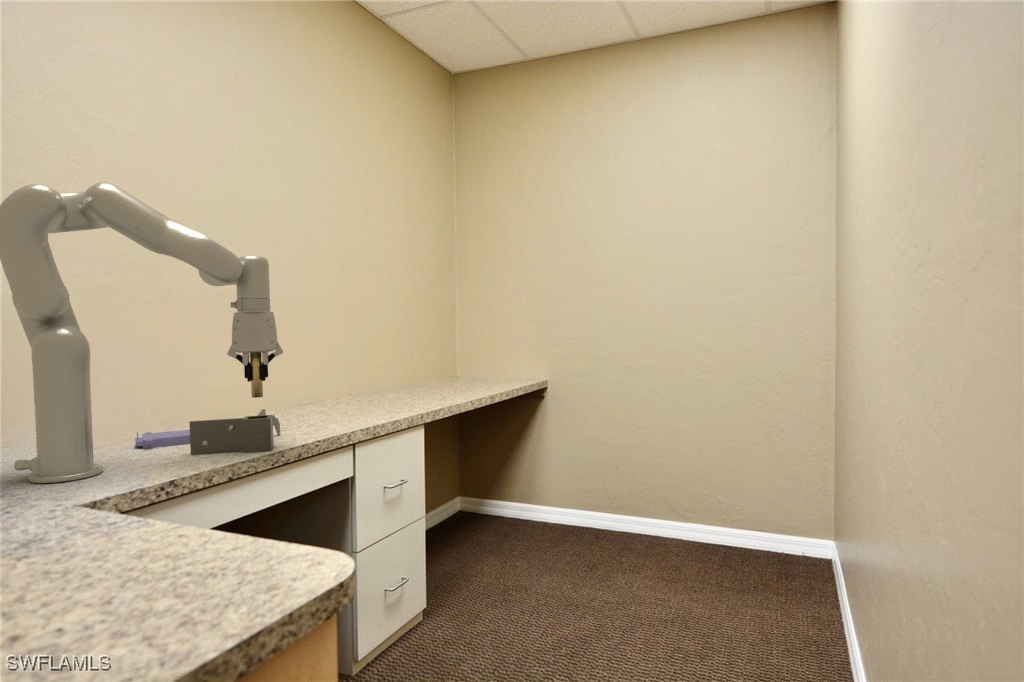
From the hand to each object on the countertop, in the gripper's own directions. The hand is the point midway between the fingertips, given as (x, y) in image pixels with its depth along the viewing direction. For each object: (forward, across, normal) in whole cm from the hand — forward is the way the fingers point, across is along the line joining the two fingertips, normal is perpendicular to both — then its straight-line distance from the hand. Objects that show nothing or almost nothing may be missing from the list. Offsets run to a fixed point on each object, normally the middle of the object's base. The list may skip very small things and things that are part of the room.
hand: (256, 380), depth 151 cm
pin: (+4, 0, 0) cm, 4 cm away
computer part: (+18, -17, +21) cm, 33 cm away
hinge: (+17, -6, +6) cm, 19 cm away
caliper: (+18, -6, +16) cm, 24 cm away
